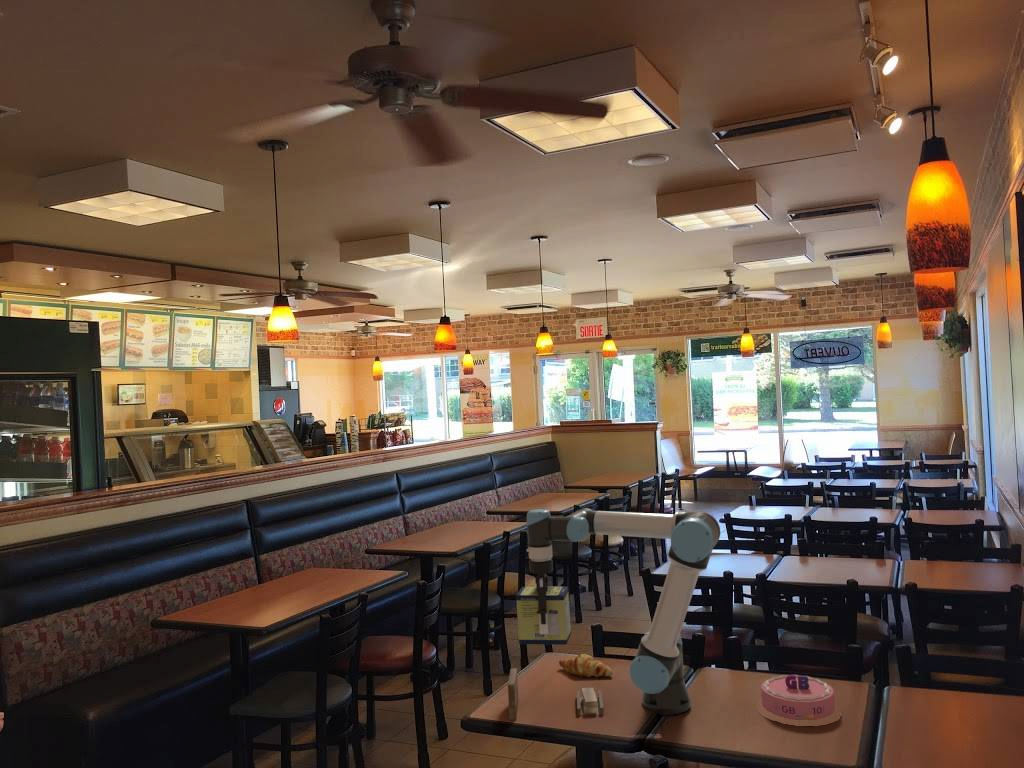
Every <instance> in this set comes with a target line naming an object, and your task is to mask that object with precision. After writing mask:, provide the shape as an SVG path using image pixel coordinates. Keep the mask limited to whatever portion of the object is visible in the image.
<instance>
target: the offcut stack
mask: <svg viewBox="0 0 1024 768" xmlns="http://www.w3.org/2000/svg"><path fill="white" fill-rule="evenodd" d="M581 695H582V696H581V697H583V705H584V714H588V713H597V707H598V705H597V699H596V697H597V695H596V692H595V690H594V687H583V688H581Z"/></svg>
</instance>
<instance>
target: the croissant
mask: <svg viewBox="0 0 1024 768" xmlns="http://www.w3.org/2000/svg"><path fill="white" fill-rule="evenodd" d="M558 663H559V666H560V667H561V668H562V669H564V671H566V672H567V673H568V672H569V673H568V674H572V675H573V674H574V676H577V675H579V676H578V677H582V676H586V677H585V678H592V677H591V676H595V677H594V678H600V677H599V676H601V677H604V678H606V677H607V678H608V677H611V676H612V675H613V674H614V673H613V670H612V669H611V668H610V667H609V665H607V664H604V663H603V661H602V660H601V659H594V658H593V656H591V655H589V654H587V653H578V654H577V656H572V657H570V658H565V659H564V660H563V659H562V660H561V659H560V660H559V661H558Z"/></svg>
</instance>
